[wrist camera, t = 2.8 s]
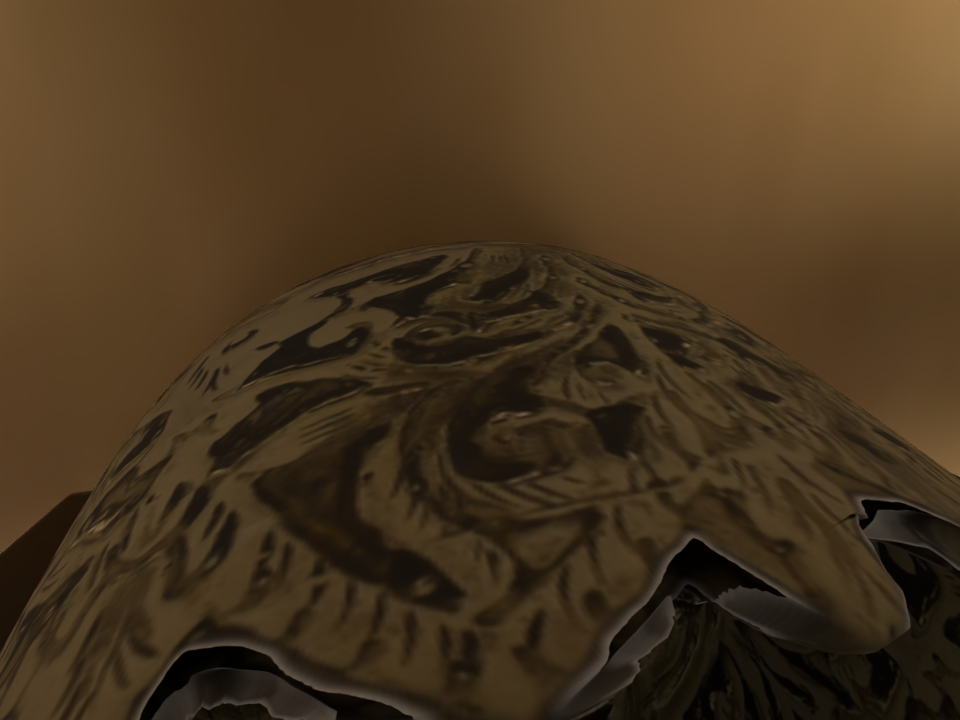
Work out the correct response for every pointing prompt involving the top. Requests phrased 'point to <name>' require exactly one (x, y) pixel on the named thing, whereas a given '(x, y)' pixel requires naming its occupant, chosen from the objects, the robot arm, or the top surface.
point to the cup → (499, 519)
